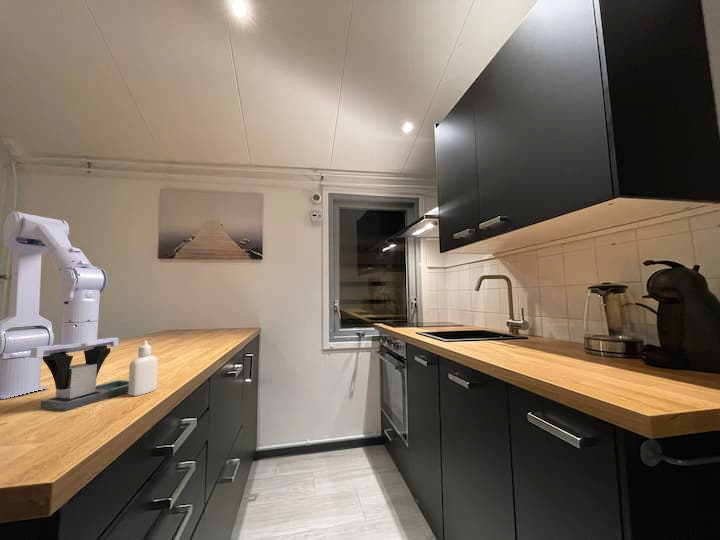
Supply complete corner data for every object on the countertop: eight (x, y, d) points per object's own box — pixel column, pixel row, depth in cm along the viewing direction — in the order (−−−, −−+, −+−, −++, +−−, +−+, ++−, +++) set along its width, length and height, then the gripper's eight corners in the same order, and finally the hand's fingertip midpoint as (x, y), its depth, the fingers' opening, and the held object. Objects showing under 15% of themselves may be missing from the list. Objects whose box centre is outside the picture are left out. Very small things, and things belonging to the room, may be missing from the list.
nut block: (55, 397, 60) (57, 367, 61) (81, 390, 65) (83, 362, 65) (69, 398, 59) (71, 368, 60) (95, 391, 63) (97, 363, 64)
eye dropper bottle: (126, 393, 67) (129, 341, 68) (155, 388, 71) (157, 338, 72) (129, 398, 64) (131, 343, 65) (159, 391, 68) (161, 340, 69)
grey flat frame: (40, 408, 59) (40, 399, 59) (119, 386, 73) (119, 379, 74) (65, 411, 57) (66, 402, 57) (142, 388, 71) (142, 381, 71)
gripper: (48, 325, 55) (43, 398, 54) (128, 319, 69) (125, 377, 68) (26, 324, 57) (20, 395, 56) (108, 319, 71) (104, 375, 70)
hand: (76, 385), depth 62 cm, fingers closed on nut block, 4 cm apart
